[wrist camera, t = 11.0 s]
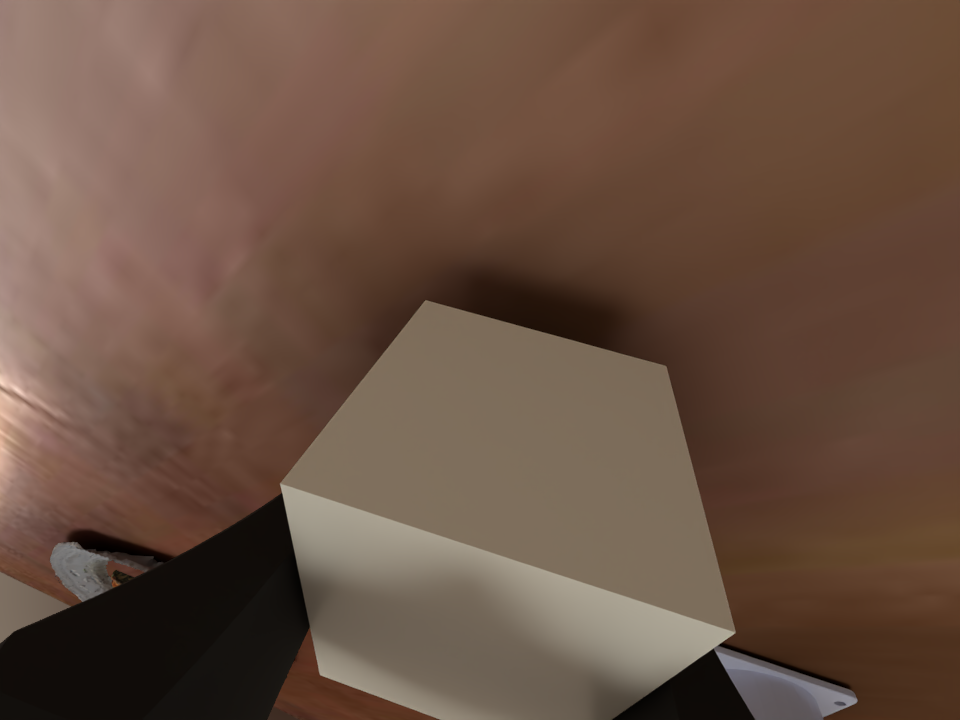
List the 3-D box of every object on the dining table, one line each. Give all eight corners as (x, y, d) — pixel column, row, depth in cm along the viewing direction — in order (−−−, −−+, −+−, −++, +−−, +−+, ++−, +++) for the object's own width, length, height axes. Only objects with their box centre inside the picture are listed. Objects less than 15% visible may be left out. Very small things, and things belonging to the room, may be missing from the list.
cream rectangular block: (565, 541, 15) (552, 760, 10) (406, 490, 15) (320, 674, 10) (666, 366, 10) (735, 632, 5) (425, 300, 10) (280, 483, 5)
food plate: (274, 586, 32) (243, 633, 30) (314, 684, 46) (295, 723, 43) (33, 500, 36) (-15, 535, 34) (135, 613, 50) (106, 645, 47)
